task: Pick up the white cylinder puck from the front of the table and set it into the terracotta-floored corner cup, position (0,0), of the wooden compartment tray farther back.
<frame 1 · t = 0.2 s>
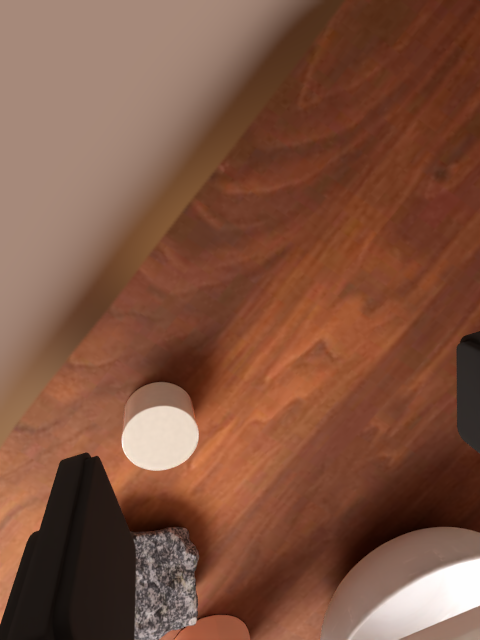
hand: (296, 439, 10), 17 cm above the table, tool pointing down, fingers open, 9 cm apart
white cylinder puck: (159, 412, 28), on the table
rock: (141, 562, 33), on the table
serving bowl: (395, 576, 40), on the table
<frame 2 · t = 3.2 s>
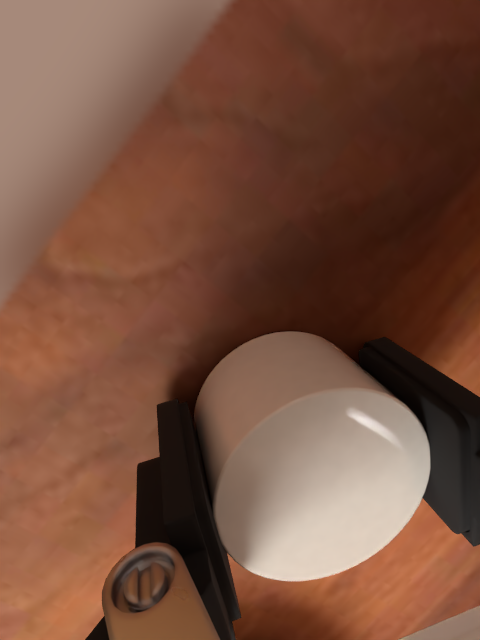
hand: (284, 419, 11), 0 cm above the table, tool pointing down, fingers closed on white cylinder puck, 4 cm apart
white cylinder puck: (279, 411, 11), on the table, touching gripper
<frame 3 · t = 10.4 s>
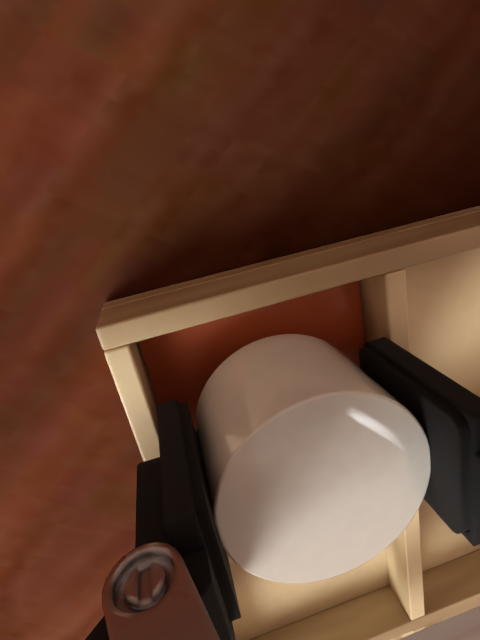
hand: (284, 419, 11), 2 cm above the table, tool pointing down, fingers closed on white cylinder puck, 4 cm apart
white cylinder puck: (280, 413, 11), point 2 cm above the table, touching gripper
wooden compartment tray: (460, 482, 16), on the table
when the fingers open (2 cm above the table, at t = 13.4 s): white cylinder puck drops 1 cm, resting on wooden compartment tray.
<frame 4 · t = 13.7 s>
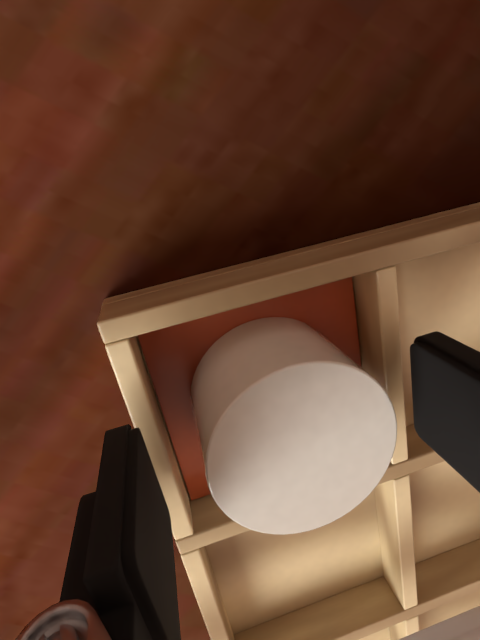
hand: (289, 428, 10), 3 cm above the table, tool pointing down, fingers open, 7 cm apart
white cylinder puck: (267, 390, 12), point 1 cm above the table, touching wooden compartment tray
wooden compartment tray: (453, 476, 17), on the table
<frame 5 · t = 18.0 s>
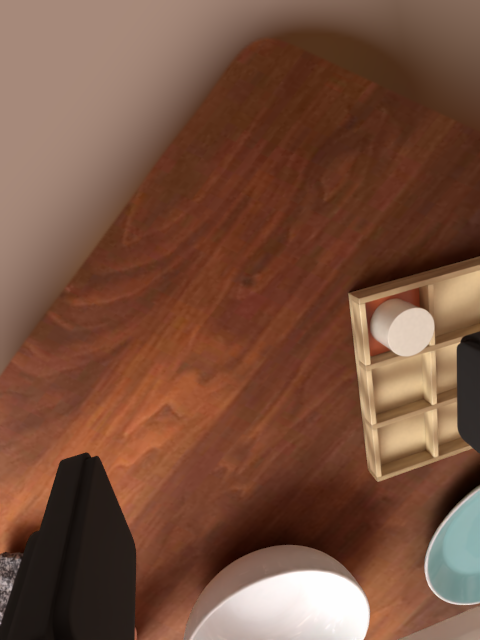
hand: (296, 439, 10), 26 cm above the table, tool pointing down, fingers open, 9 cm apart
white cylinder puck: (391, 321, 40), point 1 cm above the table, touching wooden compartment tray
rock: (37, 575, 41), on the table
serving bowl: (263, 584, 49), on the table
wooden compartment tray: (449, 360, 44), on the table
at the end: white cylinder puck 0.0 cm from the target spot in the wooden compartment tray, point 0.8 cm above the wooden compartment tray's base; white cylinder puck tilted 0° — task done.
